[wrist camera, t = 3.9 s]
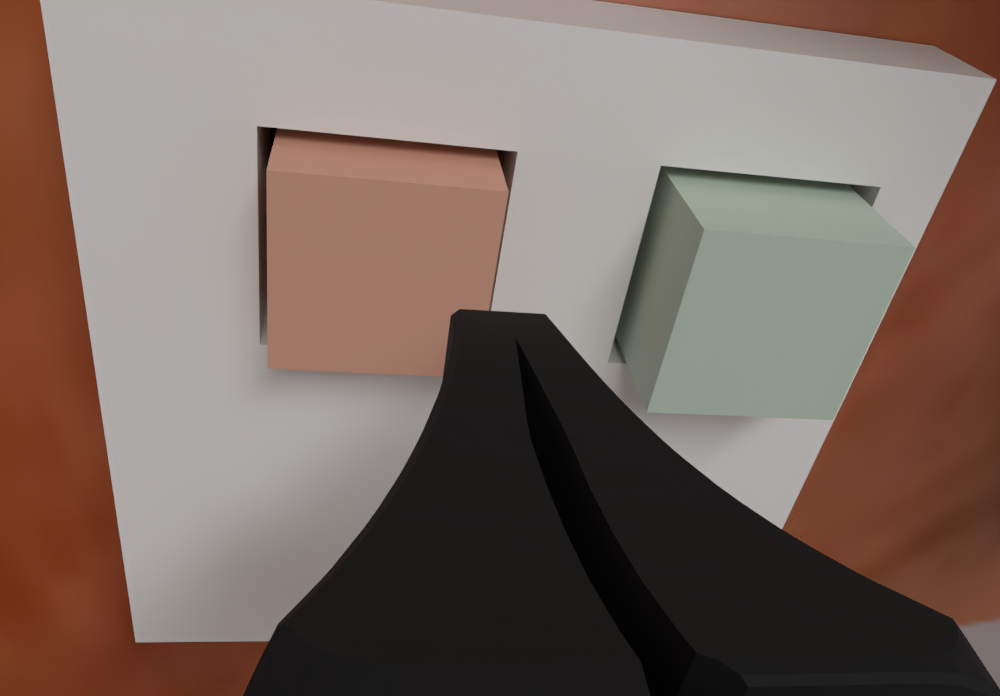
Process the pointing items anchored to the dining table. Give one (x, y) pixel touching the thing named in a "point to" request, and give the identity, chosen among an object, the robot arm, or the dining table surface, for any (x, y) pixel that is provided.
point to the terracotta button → (376, 249)
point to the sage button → (755, 294)
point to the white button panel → (521, 259)
